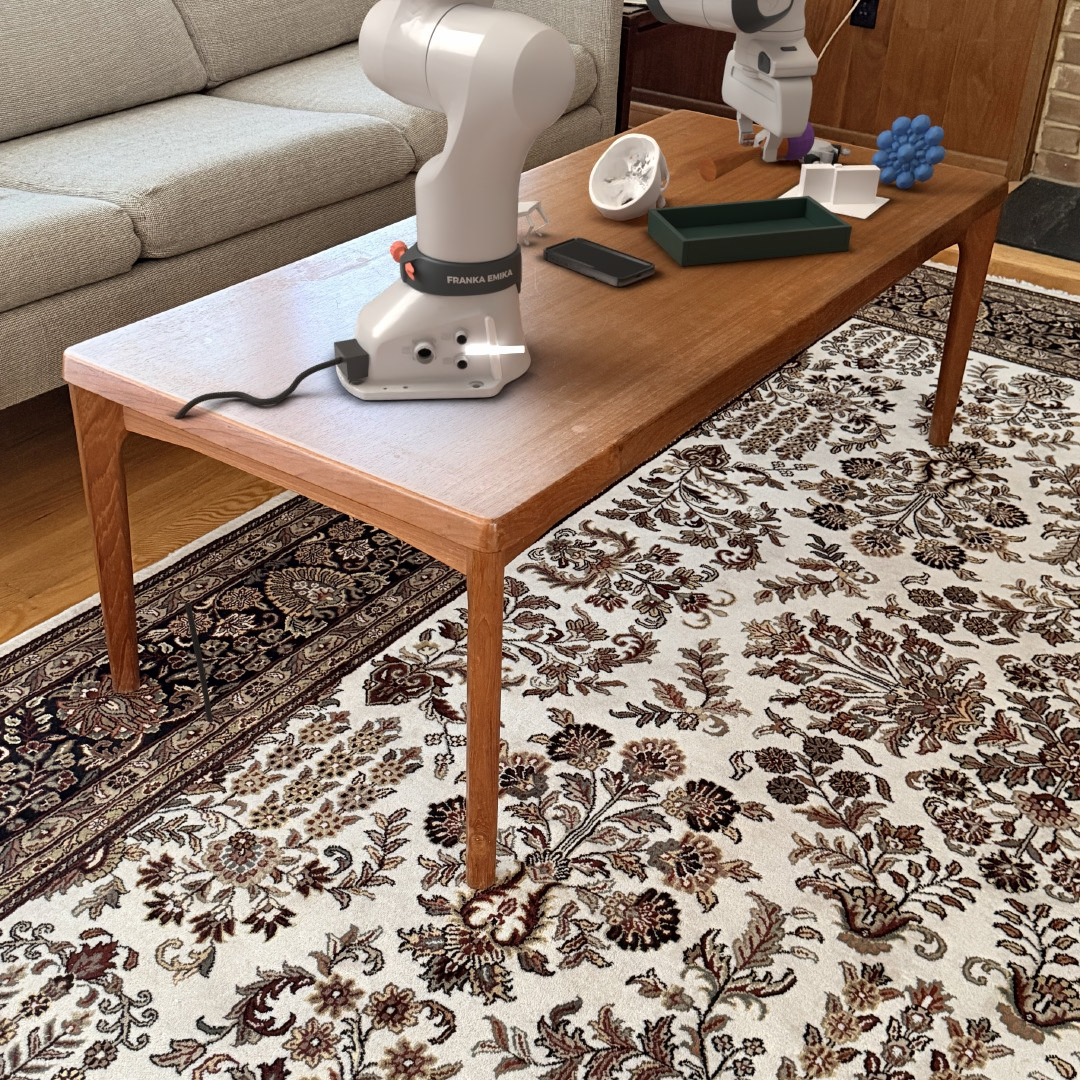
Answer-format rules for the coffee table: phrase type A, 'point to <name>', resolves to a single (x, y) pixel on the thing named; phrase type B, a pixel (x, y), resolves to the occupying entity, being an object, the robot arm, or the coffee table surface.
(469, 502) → the coffee table surface
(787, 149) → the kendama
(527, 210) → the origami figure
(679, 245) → the tray
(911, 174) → the blue beaded flower
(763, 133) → the robot toy
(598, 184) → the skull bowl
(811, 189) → the napkin holder
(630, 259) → the phone
